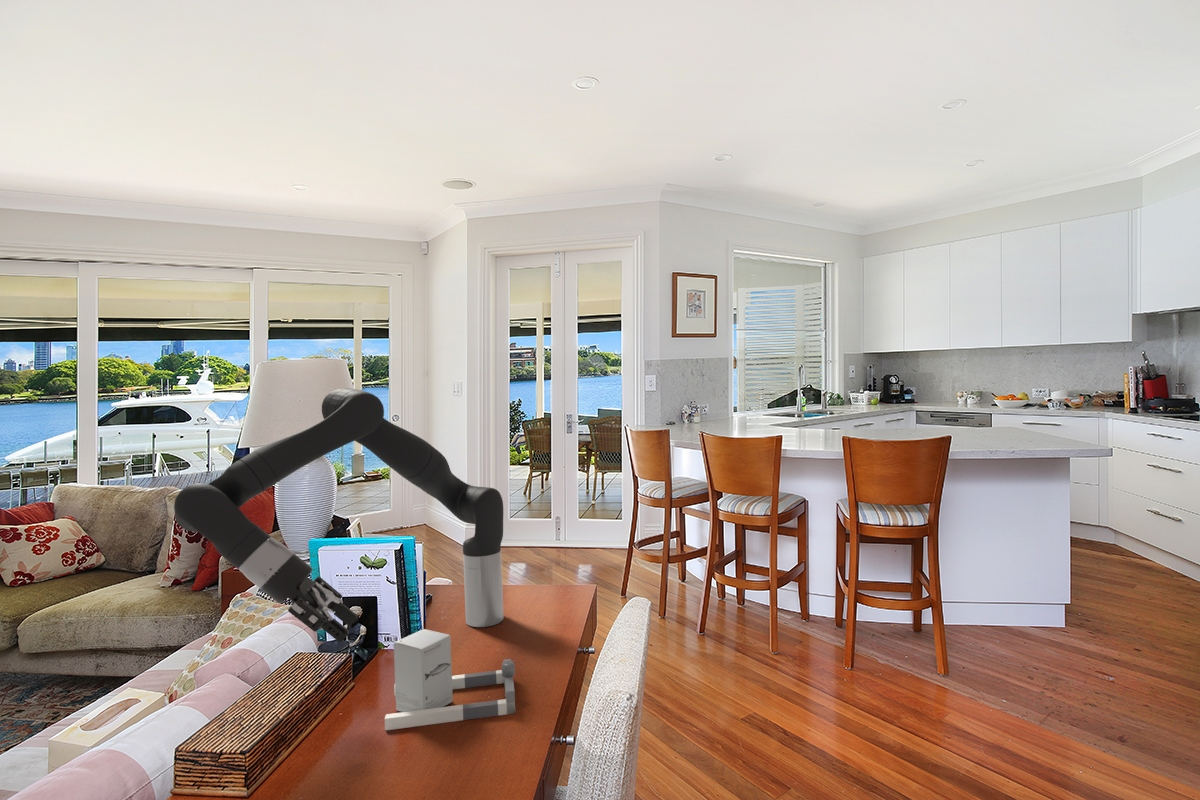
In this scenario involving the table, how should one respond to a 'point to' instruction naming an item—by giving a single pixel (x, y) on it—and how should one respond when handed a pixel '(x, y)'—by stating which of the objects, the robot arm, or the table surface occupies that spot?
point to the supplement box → (423, 671)
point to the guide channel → (466, 709)
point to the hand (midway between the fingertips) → (349, 628)
